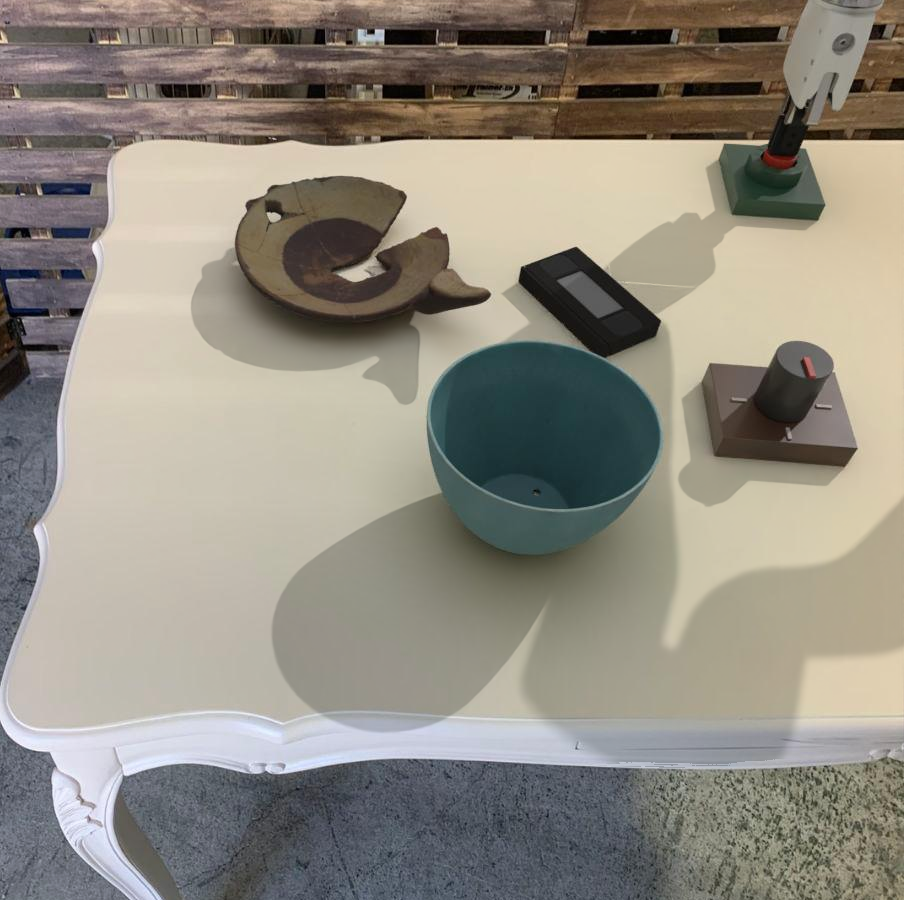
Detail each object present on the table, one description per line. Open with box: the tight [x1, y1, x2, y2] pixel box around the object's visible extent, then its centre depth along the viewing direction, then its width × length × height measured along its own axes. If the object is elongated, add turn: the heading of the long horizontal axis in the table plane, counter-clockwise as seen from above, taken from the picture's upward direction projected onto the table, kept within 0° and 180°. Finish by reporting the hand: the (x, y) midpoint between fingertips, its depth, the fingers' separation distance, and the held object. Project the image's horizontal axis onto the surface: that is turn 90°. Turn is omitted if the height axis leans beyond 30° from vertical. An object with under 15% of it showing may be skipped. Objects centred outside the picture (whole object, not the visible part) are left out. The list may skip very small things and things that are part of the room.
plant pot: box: [426, 339, 664, 556], centre depth 74 cm, size 18×18×12 cm
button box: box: [718, 142, 826, 222], centre depth 108 cm, size 10×12×4 cm
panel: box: [701, 362, 859, 467], centre depth 85 cm, size 12×10×3 cm
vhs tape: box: [518, 246, 662, 359], centre depth 95 cm, size 8×14×2 cm, turn 30°
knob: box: [754, 340, 835, 422], centre depth 82 cm, size 5×5×6 cm
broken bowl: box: [234, 175, 492, 323], centre depth 94 cm, size 22×30×8 cm
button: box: [762, 147, 797, 169], centre depth 106 cm, size 4×4×2 cm
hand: (781, 152), depth 106 cm, fingers closed
